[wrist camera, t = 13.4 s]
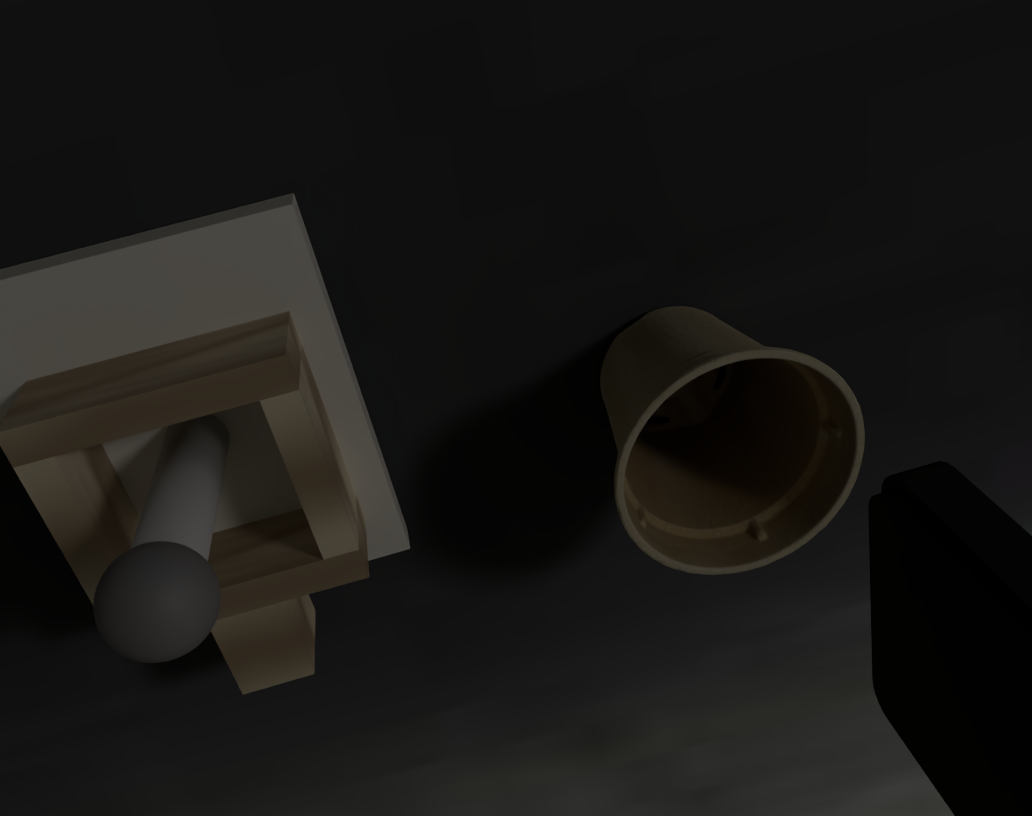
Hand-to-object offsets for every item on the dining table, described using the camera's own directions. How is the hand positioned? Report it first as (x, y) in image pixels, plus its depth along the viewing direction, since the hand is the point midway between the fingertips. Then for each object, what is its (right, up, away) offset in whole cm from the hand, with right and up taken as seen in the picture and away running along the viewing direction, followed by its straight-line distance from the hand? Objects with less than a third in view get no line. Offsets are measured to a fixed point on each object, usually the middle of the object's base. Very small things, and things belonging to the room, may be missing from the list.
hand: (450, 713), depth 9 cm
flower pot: (+7, +5, +32) cm, 33 cm away
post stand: (-12, +3, +29) cm, 31 cm away
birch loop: (-11, 0, +29) cm, 31 cm away
